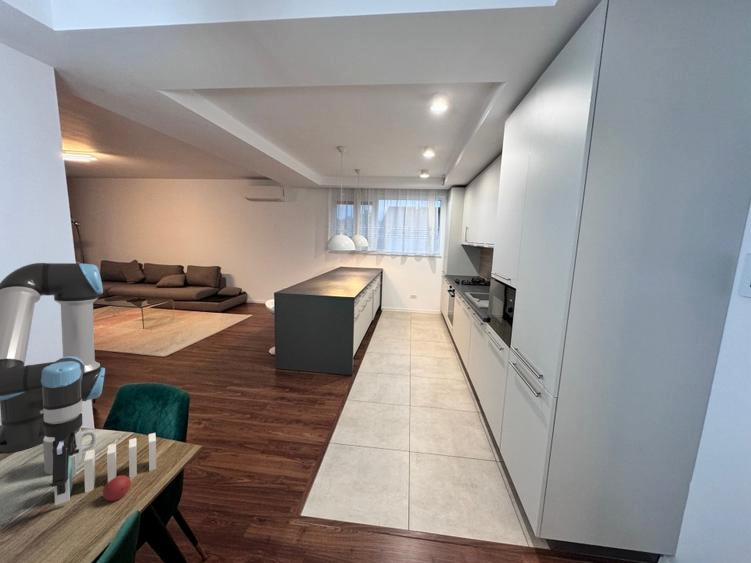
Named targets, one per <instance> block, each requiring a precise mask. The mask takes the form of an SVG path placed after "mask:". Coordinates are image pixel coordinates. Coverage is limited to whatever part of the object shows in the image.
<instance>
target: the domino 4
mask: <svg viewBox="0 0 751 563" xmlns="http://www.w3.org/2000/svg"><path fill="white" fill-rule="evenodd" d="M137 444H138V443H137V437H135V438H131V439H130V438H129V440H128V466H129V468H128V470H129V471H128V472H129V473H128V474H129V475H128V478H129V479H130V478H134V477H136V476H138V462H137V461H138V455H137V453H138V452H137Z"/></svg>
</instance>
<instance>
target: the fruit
mask: <svg viewBox="0 0 751 563" xmlns="http://www.w3.org/2000/svg"><path fill="white" fill-rule="evenodd" d="M131 484H132V482H131V479H130V478H129V476H127V475H124V474H123V475H117V476H116V477H115V478H114V479H112V480H111V481H109V482H108V481H107V483H106V484H105V485H104V487H103V490H102V496H103V498H104V499H105V500H106V501H108V502H117V501H119V500H120V499H122V498H124V497H125V495H126V494H127V493H128V491H129V490H130V488H131Z"/></svg>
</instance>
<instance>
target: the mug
mask: <svg viewBox="0 0 751 563" xmlns="http://www.w3.org/2000/svg"><path fill="white" fill-rule="evenodd" d="M81 428H82V427H80V428H79V429H78V430H76V431H75V438H76V446H77V447H76V449H75V450H77V449H79V453H76V454H73V455H76V467H77V466H78V465H79V464H80V463H81V462H82V460H83V452H85V451H89V449H90V450H91V449H92V448H93V447H94V445H95V443H96V440H97V436H96V433H95V431H94V430H92V429H86V430H82V429H81ZM88 435H89V436H91V441H90V442H89V444H86V445H83V444H82V441H83V440H82V438H84V437H86V436H88ZM53 441H55V438H54V437H46V436H45V437H44V439H43V443H42V444H43V446H42V448H43V471H44V474H46V475H50V476H51V475H52V476H53V452H52V450H53V448H54V447H53Z"/></svg>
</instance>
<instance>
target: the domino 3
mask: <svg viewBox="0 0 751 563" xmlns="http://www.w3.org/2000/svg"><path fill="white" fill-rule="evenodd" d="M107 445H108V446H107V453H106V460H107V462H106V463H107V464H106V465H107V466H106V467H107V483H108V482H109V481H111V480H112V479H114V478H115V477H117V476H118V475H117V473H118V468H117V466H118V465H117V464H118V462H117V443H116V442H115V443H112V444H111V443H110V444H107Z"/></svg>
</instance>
